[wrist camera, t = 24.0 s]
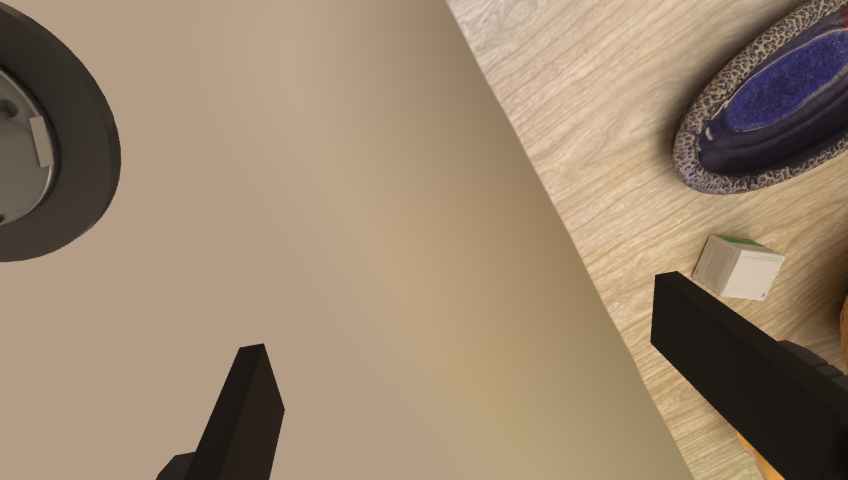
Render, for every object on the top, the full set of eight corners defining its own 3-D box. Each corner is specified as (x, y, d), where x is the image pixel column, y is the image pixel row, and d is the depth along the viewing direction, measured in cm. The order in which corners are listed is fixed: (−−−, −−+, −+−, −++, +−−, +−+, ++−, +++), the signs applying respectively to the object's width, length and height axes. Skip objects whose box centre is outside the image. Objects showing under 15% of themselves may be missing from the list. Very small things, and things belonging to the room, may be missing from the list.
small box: (752, 238, 53) (788, 256, 49) (731, 283, 55) (764, 303, 51) (709, 232, 52) (742, 249, 48) (689, 277, 54) (719, 298, 50)
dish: (628, 96, 45) (658, 101, 41) (931, -91, 42) (1001, -108, 37) (677, 221, 51) (708, 237, 46) (946, 65, 48) (1008, 67, 43)
